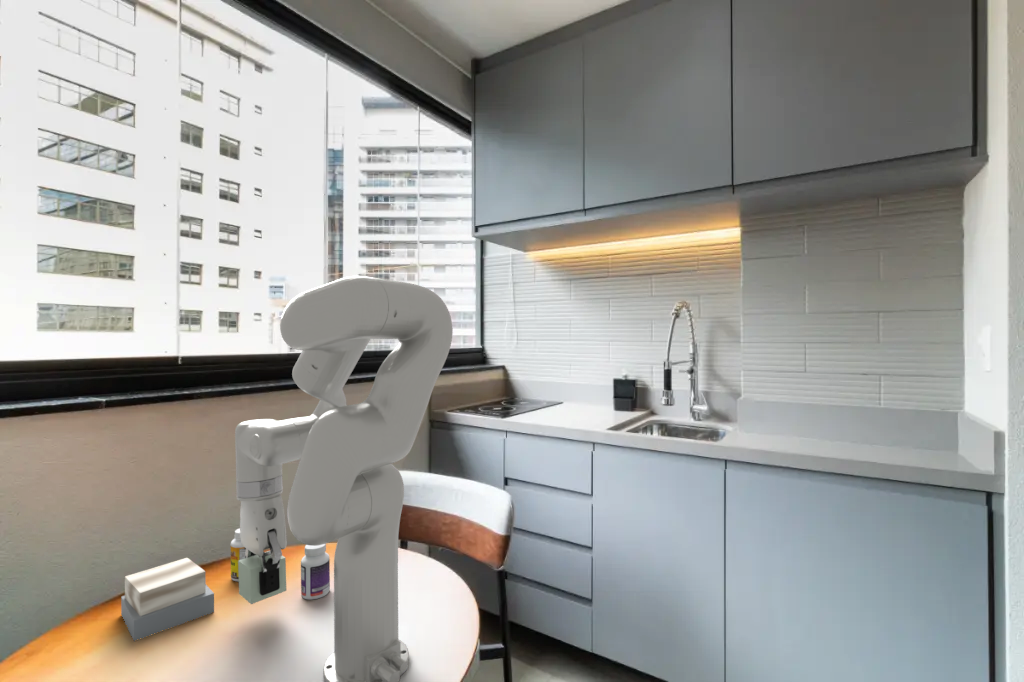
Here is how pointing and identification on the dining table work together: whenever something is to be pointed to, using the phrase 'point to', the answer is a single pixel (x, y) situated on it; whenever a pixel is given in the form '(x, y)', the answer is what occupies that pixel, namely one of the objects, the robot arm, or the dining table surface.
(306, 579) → the pill bottle
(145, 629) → the base block
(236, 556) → the supplement bottle
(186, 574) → the top block
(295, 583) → the dining table surface
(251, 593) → the sage block
